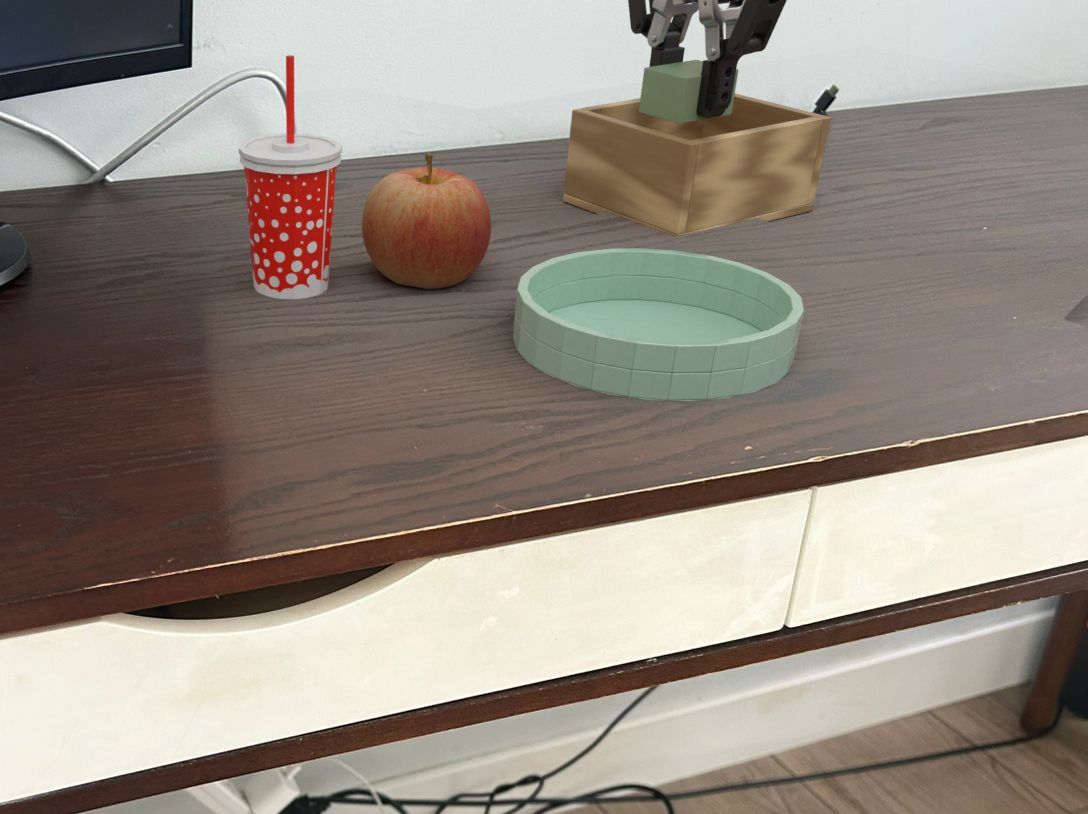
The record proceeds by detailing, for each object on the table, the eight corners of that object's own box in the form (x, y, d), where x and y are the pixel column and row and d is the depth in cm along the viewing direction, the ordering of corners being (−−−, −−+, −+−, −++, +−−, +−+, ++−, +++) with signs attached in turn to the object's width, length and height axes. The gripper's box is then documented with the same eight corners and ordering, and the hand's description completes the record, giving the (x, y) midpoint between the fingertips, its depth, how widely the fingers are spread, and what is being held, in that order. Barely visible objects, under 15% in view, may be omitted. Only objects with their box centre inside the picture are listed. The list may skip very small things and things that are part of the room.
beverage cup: (285, 270, 89) (283, 41, 81) (359, 290, 86) (365, 54, 78) (222, 295, 85) (214, 58, 77) (297, 318, 82) (297, 72, 74)
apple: (362, 261, 90) (365, 137, 86) (484, 263, 90) (492, 139, 85) (358, 304, 84) (360, 172, 79) (489, 307, 83) (499, 174, 79)
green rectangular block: (689, 103, 98) (696, 59, 97) (731, 114, 95) (739, 69, 94) (638, 112, 96) (644, 67, 95) (679, 124, 93) (686, 78, 92)
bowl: (652, 288, 86) (660, 233, 84) (850, 369, 75) (864, 307, 73) (458, 336, 79) (462, 278, 77) (645, 433, 68) (655, 368, 66)
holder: (694, 174, 107) (708, 86, 104) (812, 211, 99) (831, 117, 95) (562, 201, 101) (571, 109, 98) (675, 243, 93) (690, 144, 89)
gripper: (858, -168, 83) (802, 123, 92) (687, -179, 93) (652, 84, 102) (772, -163, 80) (723, 138, 89) (604, -175, 90) (576, 96, 99)
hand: (685, 108), depth 96 cm, fingers closed on green rectangular block, 4 cm apart
